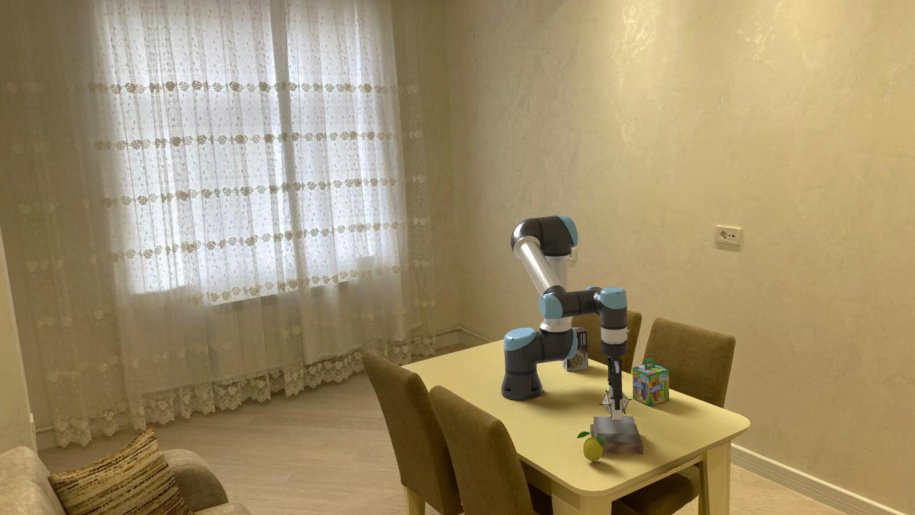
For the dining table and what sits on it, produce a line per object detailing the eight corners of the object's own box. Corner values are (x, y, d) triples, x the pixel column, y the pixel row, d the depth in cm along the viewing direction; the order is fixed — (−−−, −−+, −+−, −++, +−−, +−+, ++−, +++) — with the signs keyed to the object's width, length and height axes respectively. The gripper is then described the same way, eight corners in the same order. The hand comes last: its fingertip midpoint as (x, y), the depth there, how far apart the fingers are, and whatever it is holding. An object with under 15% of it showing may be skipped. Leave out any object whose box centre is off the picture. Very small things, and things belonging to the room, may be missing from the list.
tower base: (594, 454, 197) (594, 435, 196) (590, 433, 210) (589, 415, 209) (643, 454, 195) (642, 434, 194) (635, 432, 209) (635, 414, 208)
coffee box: (583, 364, 272) (582, 325, 269) (588, 369, 266) (587, 330, 263) (561, 366, 271) (560, 328, 268) (566, 371, 264) (565, 332, 262)
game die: (621, 427, 201) (633, 411, 193) (594, 417, 201) (605, 401, 194) (624, 402, 207) (636, 386, 199) (598, 393, 207) (609, 376, 200)
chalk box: (650, 407, 227) (650, 365, 224) (631, 398, 235) (631, 358, 232) (670, 401, 231) (670, 360, 228) (651, 392, 239) (651, 353, 237)
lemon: (577, 459, 194) (576, 427, 192) (593, 454, 196) (593, 423, 195) (591, 469, 188) (590, 436, 186) (607, 464, 190) (607, 431, 189)
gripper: (632, 351, 186) (633, 427, 190) (622, 329, 207) (623, 399, 211) (605, 351, 187) (606, 427, 191) (597, 330, 207) (599, 399, 212)
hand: (615, 412), depth 201 cm, fingers closed on game die, 8 cm apart
